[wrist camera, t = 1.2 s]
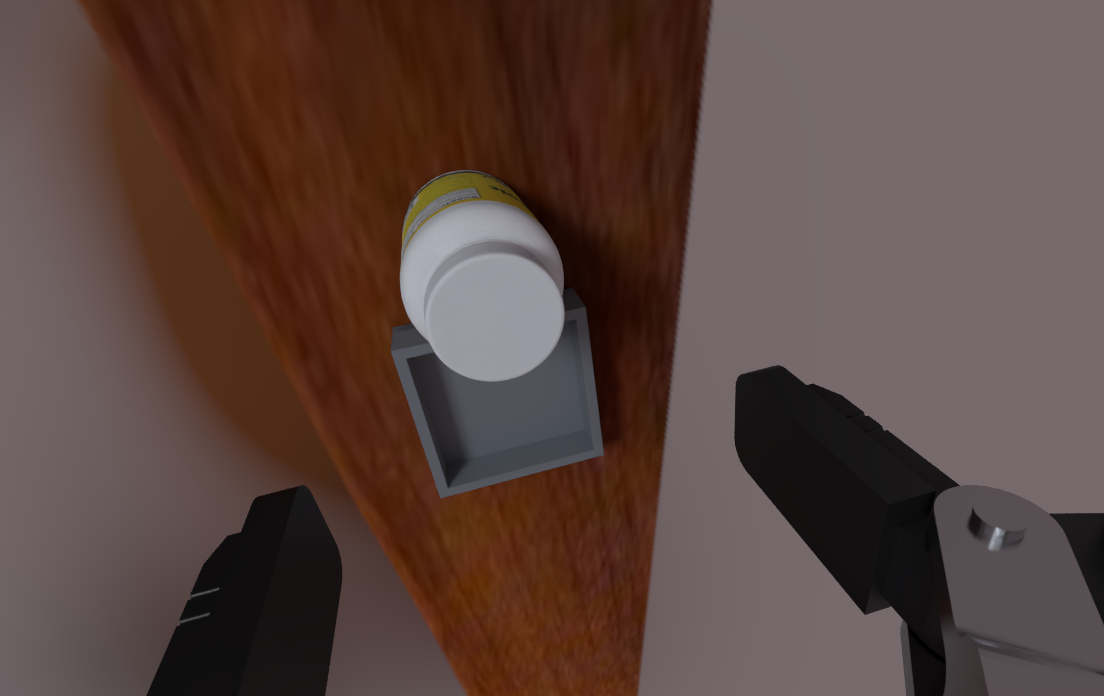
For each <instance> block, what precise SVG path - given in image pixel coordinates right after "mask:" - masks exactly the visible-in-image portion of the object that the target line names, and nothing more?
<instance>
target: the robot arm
mask: <svg viewBox="0 0 1104 696" xmlns="http://www.w3.org/2000/svg"><path fill="white" fill-rule="evenodd" d="M735 399H736V400H735V436H734V437H735V446H736V450H737V454H738V457H739V459H740V461H741V463H742V465H743V467H744V468H745V470H746V471H747V472H748V474H749V475H750V476H751V477H752V478H753V480H754V481H755V482H756V483H757V484H758V486H759V487H760V488H761V489H762V491H763V492H764V493H765V494H766V495H767V497H768V498H769V499H770V500H771V501H772V503H773V504H774V505H775V506H776V508H777V509H778V510H779V511H780V512H781V514H782V515H783V516H784V517H785V518H786V520H787V521H788V522H789V523H790V525H791V526H792V527H793V528H794V529H795V531H796V532H797V533H798V534H799V536H800V537H801V538H802V539H803V540H804V542H805V543H806V544H807V545H808V546H809V548H810V549H811V550H812V551H813V552H814V553H815V555H816V556H817V557H818V559H819V560H820V561H821V562H822V563H823V565H824V566H825V567H826V568H827V569H828V571H829V572H830V573H831V574H832V575H833V577H834V578H835V579H836V580H837V582H838V583H839V584H840V585H841V587H842V588H843V589H844V590H845V591H846V593H847V594H848V595H849V596H850V597H851V599H852V600H853V601H854V602H855V604H856V605H857V606H858V607H859V608H860V610H861V611H862V612H863V613H864V614H865V615H866V614H869V613H872V612H875V611H879V610H881V609H885V608H888V607H890V606H892V607H893V608H894V610H895V611H896V612H897V613H898V614H899V615H900V616H901V618H902V619H903V621H902V625H901V632H900V635H901V645H902V656H903V666H904V677H905V687H906V696H1104V513H1078V514H1077V513H1075V514H1073V513H1071V514H1068V513H1067V514H1066V513H1065V514H1048V513H1047V512H1045V511H1044V510H1042V509H1041V508H1040V507H1038V506H1037V505H1035V504H1033V503H1031V502H1030V501H1028V500H1026V499H1024V498H1021V497H1020V496H1017V495H1015V494H1012V493H1009V492H1006V491H1003V490H1000V489H996V488H990V487H985V486H977V485H976V486H975V485H965V486H960V485H959V484H957V483H956V482H955V481H953V480H952V479H951V478H949V477H948V476H947V475H945V474H944V473H943V472H941V471H940V470H939V469H938V468H936V467H935V466H934V465H932V464H931V463H930V462H928V461H927V460H926V459H924V458H923V457H922V456H921V455H919V454H918V453H917V452H915V451H914V450H913V449H911V448H910V447H909V446H907V445H906V444H905V443H903V442H902V441H901V440H900V439H898V438H897V437H896V436H894V435H893V434H892V433H890V432H889V431H888V430H886V431H884V430H883V428H882V426H881V425H880V424H879V423H877V422H876V421H875V420H873V419H872V418H871V417H869V416H865V415H864V412H863V411H862V410H860V409H859V408H858V407H856V406H855V405H854V404H852V403H851V402H850V401H848V400H847V399H846V398H844V397H843V396H842V395H840V394H837V393H835V392H832V391H830V390H827V389H825V388H822V387H820V386H817V385H815V384H810V385H805V384H804V383H803V382H802V381H800V380H799V379H798V378H797V377H796V376H794V375H793V374H792V373H790V372H789V371H788V370H787V369H786V368H784V367H782V366H779V365H777V366H772V367H769V368H765V369H761V370H757V371H753V372H749V373H745V374H741V375H740V376H739V377H738V378H737V381H736V395H735ZM341 585H342V564H341V557H340V554H339V550H338V547H337V544H336V542H335V540H334V538H333V536H332V534H331V532H330V530H329V528H328V526H327V524H326V522H325V520H324V518H323V516H322V514H321V512H320V509H319V507H318V505H317V503H316V501H315V499H314V497H313V495H312V493H311V491H310V490H309V489H308V488H307V487H306V486H303V485H301V486H297V487H294V488H289V489H285V490H282V491H278V492H274V493H270V494H266V495H262V496H258V497H257V498H255V499H254V501H253V503H252V505H251V508H250V510H249V513H248V515H247V518H246V520H245V523H244V526H243V528H242V531H241V532H240V533H236V534H232V535H229V536H227V537H226V538H225V539H224V541H223V542H222V543H221V544H220V546H219V547H218V548H217V549H216V550H215V551H214V552H213V554H212V555H211V556H210V557H209V558H208V560H207V561H206V562H205V563H204V565H203V567H202V569H201V571H200V574H199V576H198V578H197V581H196V583H195V585H194V587H193V590H192V592H191V600H188V601H187V604H186V606H185V608H184V611H183V613H182V615H181V617H180V626H177V627H176V629H175V631H174V633H173V636H172V638H171V640H170V643H169V645H168V647H167V649H166V652H165V654H164V657H163V659H162V661H161V663H160V666H159V668H158V670H157V672H156V675H155V677H154V679H153V682H152V684H151V686H150V688H149V691H148V694H147V696H325V692H326V686H327V679H328V673H329V666H330V658H331V652H332V646H333V639H334V632H335V626H336V618H337V611H338V605H339V599H340V598H339V597H340V592H341Z"/></svg>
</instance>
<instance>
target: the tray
mask: <svg viewBox="0 0 1104 696" xmlns="http://www.w3.org/2000/svg"><path fill="white" fill-rule="evenodd" d="M562 298H563V303H564V311H565V318H564V326H563V330H562V333H561V336H560V338H559V341H558V343H557V345H556V346H555V348H554V349H553V351H552V352H551V354H550V355H549V356H548V357H547V358H546V359H545V360H544V361H543V362H542V363H541V364H540V365H538V366H537V367H536V368H534V369H533V370H531V371H529V372H528V373H526V374H524V375H522V376H519V377H516V378H513V379H509V380H504V381H495V382H488V381H480V380H475V379H470V378H468V377H465V376H463V375H460V374H458V373H457V372H455V371H453V370H452V369H450V368H449V367H448V366H446V365H445V364H444V363H443V362H442V361H441V360H440V359H439V357H438V356H437V355H436V354H435V352H434V350H433V349H432V347H431V345H430V343H429V342H428V341H427V340H426V339H425V338H424V337H423V336H422V335H421V334H420V333H419V331H418V330H417V329H416V328H415V326H414V325H413V323H411V324H406V325H402V326H397V327H393V334H392V345H391V353H392V356H393V359H394V362H395V365H396V368H397V371H398V374H399V377H400V380H401V383H402V386H403V389H404V392H405V395H406V398H407V401H408V403H409V406H410V409H411V412H412V415H413V418H414V421H415V424H416V427H417V430H418V433H419V436H420V439H421V442H422V445H423V448H424V451H425V454H426V457H427V460H428V463H429V466H430V469H431V472H432V475H433V478H434V481H435V484H436V487H437V490H438V492H439V495H440V498H443V497H447V496H451V495H455V494H458V493H462V492H466V491H470V490H473V489H477V488H481V487H485V486H488V485H492V484H496V483H500V482H503V481H507V480H511V479H515V478H518V477H522V476H526V475H530V474H534V473H537V472H541V471H545V470H549V469H552V468H556V467H560V466H564V465H567V464H571V463H575V462H579V461H582V460H586V459H590V458H594V457H597V456H601V455H604V451H603V443H602V435H601V427H600V419H599V411H598V403H597V395H596V387H595V379H594V370H593V362H592V354H591V346H590V338H589V330H588V322H587V314H586V307H585V305H584V304H583V302H582V301H581V299H580V298H579V297H578V295H577V294H576V292H575V291H574V289H573V288H572V287H571V288H567V289H563V295H562Z"/></svg>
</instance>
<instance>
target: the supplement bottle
mask: <svg viewBox="0 0 1104 696" xmlns="http://www.w3.org/2000/svg"><path fill="white" fill-rule="evenodd" d="M400 286H401V295H402V300H403V303H404V306H405V309H406V312H407V314H408V316H409V318H410V320H411V322H412V323H413V325H414V326H415V328H416V329H417V330H418V331H419V333H420V334H421V335H422V336H423V337H424V338H425V339H426V340H427V341H428V342H429V343H430V345H431V347H432V349H433V350H434V352H435V354H436V355H437V356H438V357H439V359H440V360H441V361H442V362H443V363H444V364H445V365H446V366H448V367H449V368H450V369H452V370H453V371H455V372H457V373H458V374H460V375H463V376H465V377H468V378H470V379H475V380H480V381H488V382H495V381H504V380H509V379H513V378H516V377H519V376H522V375H524V374H526V373H528V372H529V371H531V370H533V369H534V368H536V367H537V366H538V365H540V364H541V363H542V362H543V361H544V360H545V359H546V358H547V357H548V356H549V355H550V354H551V352H552V351H553V349H554V348H555V346H556V345H557V343H558V341H559V338H560V336H561V333H562V330H563V326H564V318H565V311H564V303H563V298H562V295H563V288H564V274H563V266H562V262H561V258H560V255H559V252H558V250H557V248H556V246H555V244H554V242H553V240H552V239H551V237H550V235H549V234H548V233H547V231H546V230H545V229H544V227H543V226H542V225H541V224H540V223H539V221H538V220H537V219H536V218H535V216H534V215H533V214H532V213H531V211H530V210H529V209H528V208H527V207H526V206H525V205H524V203H523V202H522V201H521V200H520V199H519V197H518V196H517V195H516V194H515V193H514V192H513V191H512V190H511V189H510V188H509V187H508V186H507V185H506V184H504V183H503V182H502V181H500V180H498V179H497V178H495V177H493V176H491V175H488V174H485V173H482V172H478V171H470V170H461V171H454V172H449V173H446V174H443V175H441V176H438V177H436V178H434V179H433V180H431V181H430V182H428V183H427V184H426V185H424V186H423V187H422V188H421V189H420V190H419V191H418V192H417V194H416V195H415V196H414V198H413V199H412V201H411V203H410V205H409V207H408V210H407V212H406V215H405V219H404V225H403V235H402V254H401V270H400Z"/></svg>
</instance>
